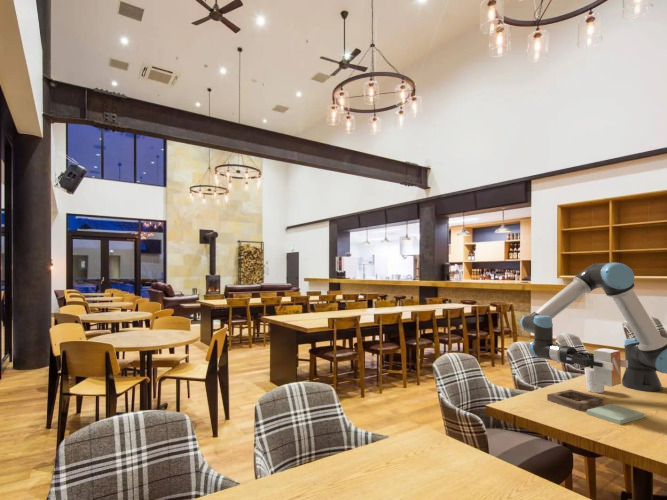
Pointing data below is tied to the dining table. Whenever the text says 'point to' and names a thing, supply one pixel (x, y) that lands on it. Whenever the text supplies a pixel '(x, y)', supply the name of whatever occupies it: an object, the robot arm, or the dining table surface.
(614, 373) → the small box
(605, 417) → the board
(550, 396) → the walnut holder
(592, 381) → the white cup
